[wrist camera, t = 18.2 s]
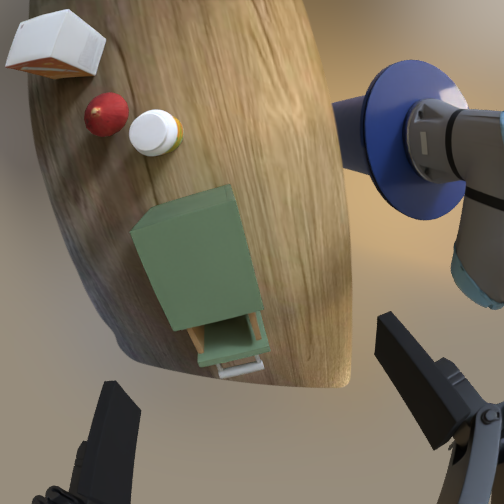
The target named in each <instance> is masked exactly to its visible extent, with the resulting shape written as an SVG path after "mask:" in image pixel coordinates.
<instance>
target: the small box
mask: <svg viewBox="0 0 504 504" xmlns="http://www.w3.org/2000/svg"><path fill="white" fill-rule="evenodd" d="M105 43H106V39H105V38H104V37H103V36H102V35H100V34H99V33H98V32H97V31H95V30H94V29H93V28H92V27H91V26H89V25H88V24H87V23H86V22H84V21H83V20H82V19H80V18H79V17H78V16H77V15H75V14H74V13H73V12H71V11H70V10H69V9H67V10H62V11H57V12H53V13H49V14H44V15H41V16H38V17H35V18H32V19H29V20H27V21H24V22H21V23H20V25H19V28H18V30H17V32H16V35H15V37H14V40H13V43H12V46H11V49H10V52H9V55H8V58H7V62H6V65H5V67H6V68H11V69H16V70H20V71H25V72H29V73H33V74H37V75H41V76H44V77H48V78H51V79H59V78H68V77H82V76H95V75H96V72H97V68H98V65H99V61H100V58H101V55H102V52H103V49H104V46H105Z"/></svg>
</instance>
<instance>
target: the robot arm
mask: <svg viewBox="0 0 504 504" xmlns="http://www.w3.org/2000/svg"><path fill="white" fill-rule="evenodd" d="M402 139H403V146H404V151H405V155H406V157H407V160H408V162H409V164H410V166H411V168H412V169H413V170H414V172H415V173H416V174H417V175H418V176H419V177H421V178H422V179H424V180H426V181H430V182H433V183H437V184H440V183H447V182H454V181H460V180H462V181H465V182H466V188H465V195H464V202H463V208H462V214H461V220H460V225H459V230H458V234H457V239H456V241H455V243H454V253H453V258H452V263H451V274H452V276H453V278H454V281H455V283H456V285H457V286H458V288H459V289H460V290H461V291H462V292H463V293H464V294H465V295H466V296H467V297H468V298H470V299H471V300H472V301H474V302H475V303H477V304H479V305H480V306H483V307H485V308H487V307H489V308H490V309H492V310H497V309H501V308H502V307H503V306H504V111H490V110H476V109H459V108H457V107H455V106H453V105H450V104H448V103H446V102H443V101H441V100H438V99H434V98H430V99H421V100H418V101H416V102H415V103H414V104H413V105H412V106H411V107H410V108H409V110H408V111H407V113H406V116H405V119H404V123H403V131H402ZM374 355H375V356H376V358H377V359H378V361H379V362H380V364H381V365H382V367H383V368H384V370H385V372H386V373H387V374H388V376H389V378H390V379H391V381H392V382H393V384H394V386H395V387H396V389H397V390H398V392H399V394H400V395H401V397H402V398H403V400H404V402H405V403H406V405H407V406H408V408H409V410H410V411H411V413H412V415H413V416H414V418H415V420H416V421H417V423H418V425H419V426H420V428H421V429H422V431H423V433H424V435H425V436H426V438H427V440H428V441H429V443H430V445H431V447H432V449H433V450H436V449H438V448H439V447H440V446H442V445H444V444H445V443H447V442H448V441H449V440H450V439H451V437H452V436H453V438H454V439H455V440H454V442H452V444H451V445H450V446H449V448H448V450H451V448H452V447H453V449H452V454H451V458H450V462H449V466H448V470H447V474H446V477H445V480H444V484H443V487H442V490H441V493H440V496H439V499H438V502H437V504H488V502H489V498H490V495H491V491H492V496H491V504H504V402H501V403H499V404H492V403H487V402H485V401H484V400H483V399H482V398H481V396H480V395H479V394H478V392H477V391H476V390H475V389H474V387H473V386H472V385H471V384H470V382H469V381H468V380H467V379H466V378H465V377H464V375H463V374H462V373H461V372H460V370H459V369H458V368H457V367H456V366H455V364H454V363H453V362H451V361H450V360H448V359H446V358H444V357H443V358H441V359H440V360H438V361H436V362H434V361H433V360H432V359H431V357H430V356H429V355H428V354H427V353H426V351H425V350H424V349H423V348H422V347H421V345H420V344H419V343H418V342H417V341H416V339H415V338H414V337H413V336H412V335H411V334H410V332H409V331H408V330H407V329H406V328H405V327H404V325H403V324H402V323H401V322H400V321H399V320H398V319H397V317H396V316H395V315H394V314H393V313H392V312H391V311H390V312H387V313H385V314H382V315H380V316H378V317H377V332H376V344H375V353H374ZM140 416H141V410H140V408H139V407H138V406H137V405H136V404H135V403H134V402H133V401H132V399H131V398H130V397H129V396H128V395H127V393H125V391H124V390H123V389H122V387H121V386H120V385H119V384H118V383H117V381H105V382H104V384H103V387H102V390H101V394H100V397H99V400H98V404H97V407H96V410H95V414H94V418H93V421H92V425H91V429H90V433H89V436H88V440H87V441H83V442H82V443H81V445H80V446H79V448H78V451H77V455H76V460H75V466H74V468H73V473H72V478H71V483H70V488H69V492H67V491H65V490H63V489H62V488H60V487H58V486H51V487H49V489H47V491H46V495H45V496H46V497H43V496H41V495H37V496H35V497H34V498H33V501H32V504H131V503H130V502H131V489H132V478H133V468H134V459H135V450H136V443H137V436H138V429H139V422H140Z"/></svg>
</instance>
